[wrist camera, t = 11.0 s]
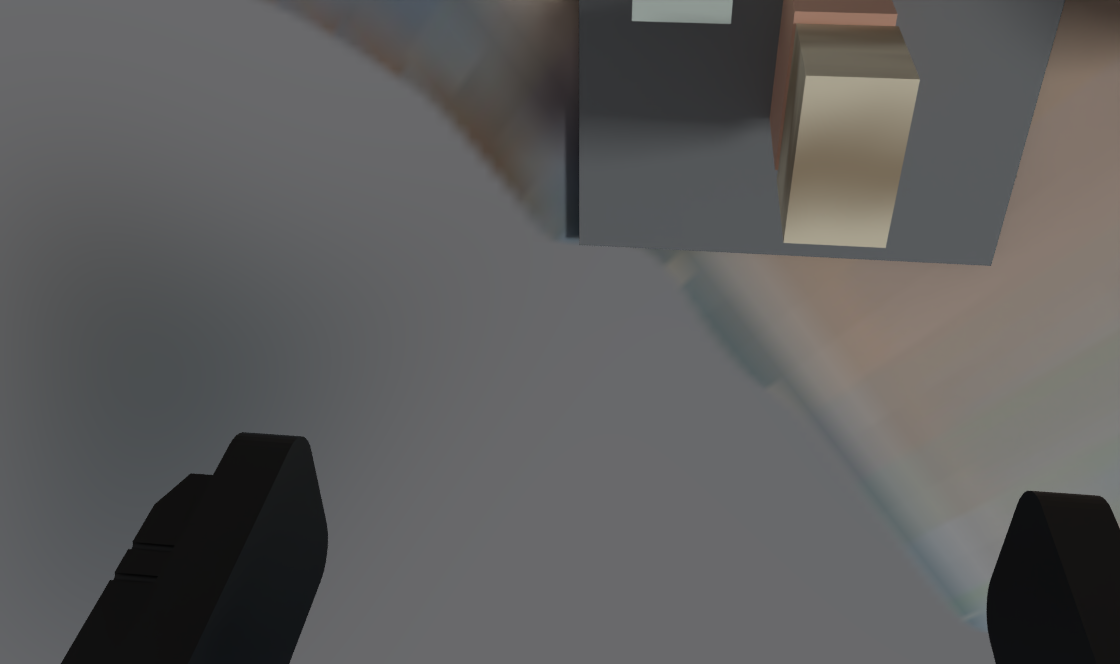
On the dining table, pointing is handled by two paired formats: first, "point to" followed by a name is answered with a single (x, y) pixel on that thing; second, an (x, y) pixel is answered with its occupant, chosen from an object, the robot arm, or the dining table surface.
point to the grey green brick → (683, 11)
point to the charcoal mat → (745, 135)
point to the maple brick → (844, 133)
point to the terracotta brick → (816, 5)
